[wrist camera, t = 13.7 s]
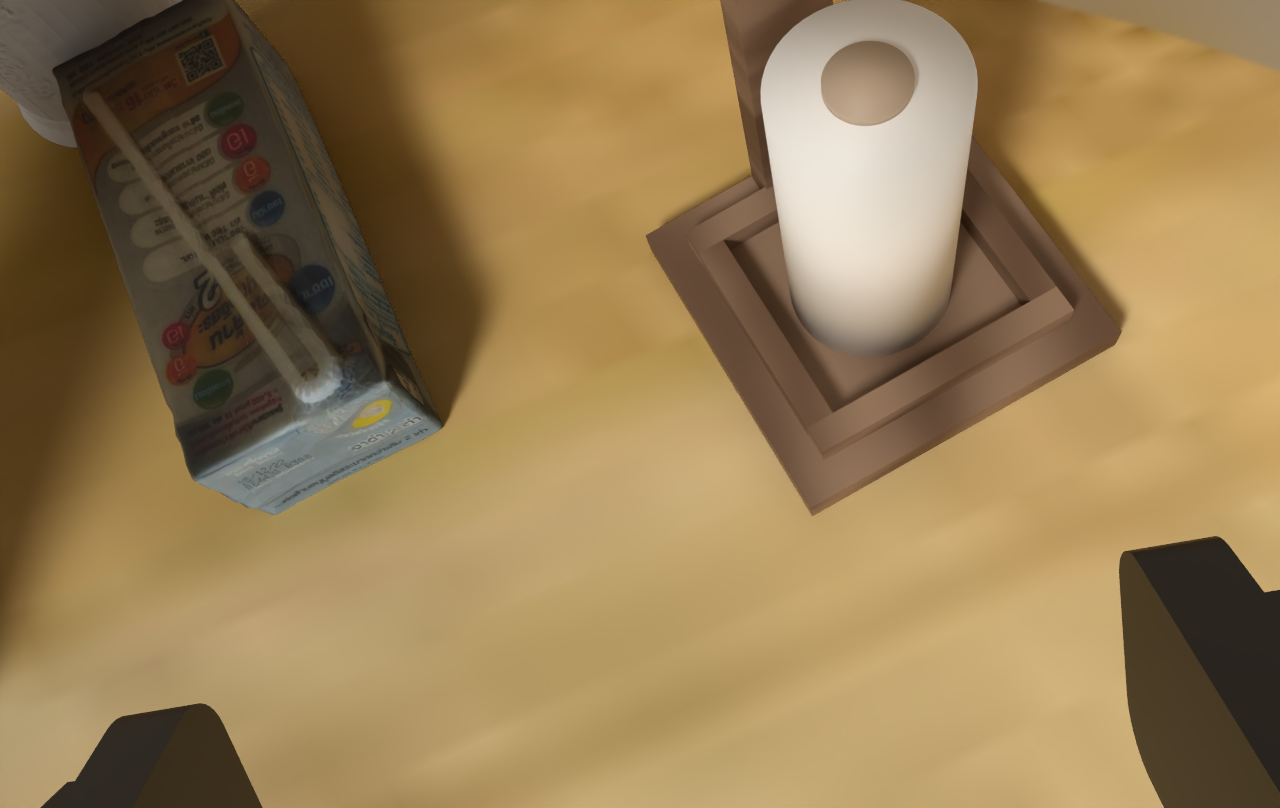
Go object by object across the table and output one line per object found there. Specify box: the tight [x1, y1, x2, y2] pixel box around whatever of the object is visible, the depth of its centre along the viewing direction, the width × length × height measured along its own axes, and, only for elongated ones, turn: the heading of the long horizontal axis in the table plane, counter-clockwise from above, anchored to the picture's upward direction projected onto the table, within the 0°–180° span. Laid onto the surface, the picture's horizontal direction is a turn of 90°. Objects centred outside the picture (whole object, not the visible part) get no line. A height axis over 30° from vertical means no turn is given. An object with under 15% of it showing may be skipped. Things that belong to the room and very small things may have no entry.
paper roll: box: [760, 0, 978, 357], centre depth 37 cm, size 6×6×12 cm
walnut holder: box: [646, 0, 1121, 516], centre depth 38 cm, size 12×12×14 cm
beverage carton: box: [52, 0, 442, 515], centre depth 46 cm, size 8×19×7 cm, turn 25°
